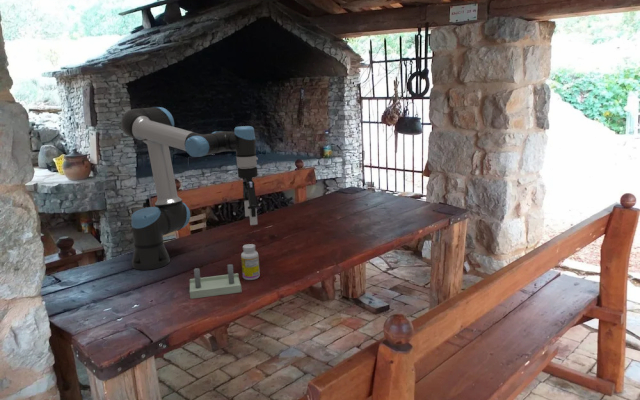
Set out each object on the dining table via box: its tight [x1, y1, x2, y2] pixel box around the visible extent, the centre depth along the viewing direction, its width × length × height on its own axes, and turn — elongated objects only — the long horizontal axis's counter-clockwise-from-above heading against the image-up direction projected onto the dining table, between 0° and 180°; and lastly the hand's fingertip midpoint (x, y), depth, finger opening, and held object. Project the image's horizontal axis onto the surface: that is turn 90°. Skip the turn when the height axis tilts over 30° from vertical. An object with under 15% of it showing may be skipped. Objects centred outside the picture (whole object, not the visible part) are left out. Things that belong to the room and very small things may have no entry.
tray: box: [189, 263, 243, 300], centre depth 182 cm, size 18×12×8 cm, turn 104°
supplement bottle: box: [240, 243, 261, 281], centre depth 192 cm, size 7×7×13 cm
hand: (251, 220), depth 197 cm, fingers open, 13 cm apart
